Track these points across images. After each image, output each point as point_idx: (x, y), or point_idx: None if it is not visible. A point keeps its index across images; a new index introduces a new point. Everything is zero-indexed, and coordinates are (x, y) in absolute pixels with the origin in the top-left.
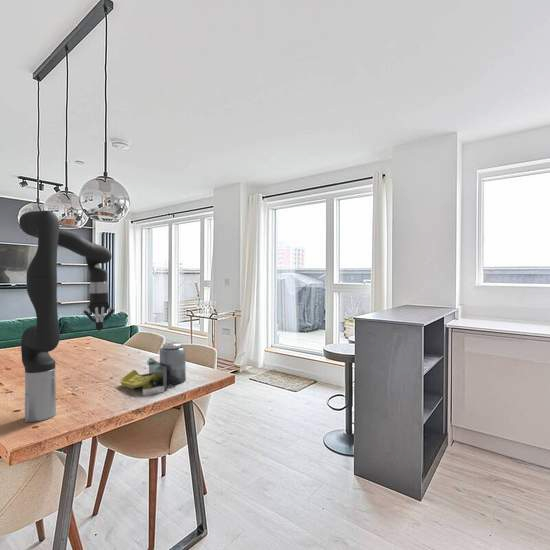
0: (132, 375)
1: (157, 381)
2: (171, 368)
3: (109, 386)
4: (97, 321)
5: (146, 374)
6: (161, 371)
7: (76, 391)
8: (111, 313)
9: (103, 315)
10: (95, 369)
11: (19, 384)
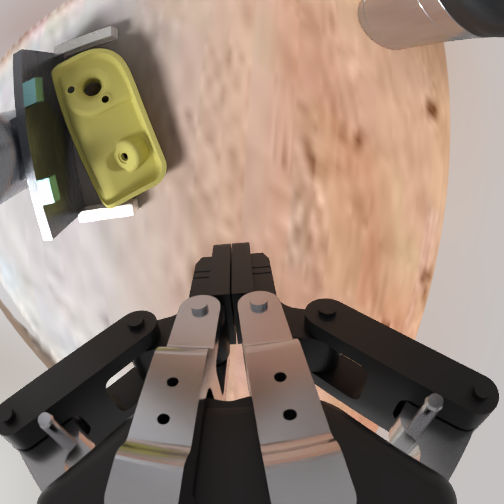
0: (122, 194)
1: (60, 113)
2: (4, 113)
3: (202, 181)
4: (259, 297)
5: (85, 211)
6: (30, 69)
7: (302, 184)
8: (41, 381)
9: (156, 361)
10: (236, 369)
11: (399, 323)
